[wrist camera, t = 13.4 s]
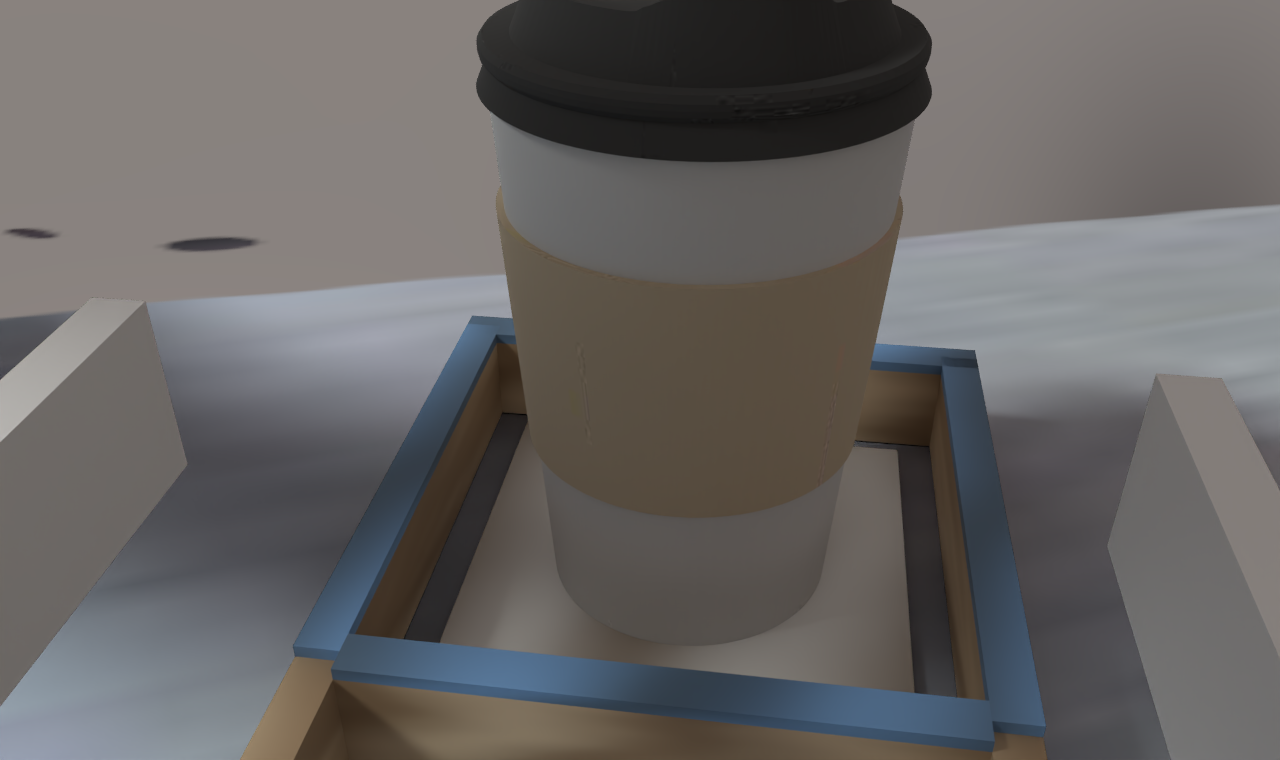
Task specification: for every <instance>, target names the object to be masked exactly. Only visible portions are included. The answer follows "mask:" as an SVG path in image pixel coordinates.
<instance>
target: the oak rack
mask: <svg viewBox="0 0 1280 760" xmlns="http://www.w3.org/2000/svg"><path fill="white" fill-rule="evenodd" d="M502 412H505V413H517V414H527V410H526V403H525V396H524V390H523V383H522V377H521V370H520V363H519V357H518V350H517V343H516V337H515V330H514V323H513V319H512V318H498V317H483V316H472V317H471V319H470V321H469V323H468V325H467V326H466V328H465V330H464V332H463V334H462V336H461V337H460V339H459V341H458V343H457V345H456V347H455V348H454V350H453V352H452V354H451V356H450V358H449V360H448V361H447V363H446V365H445V367H444V369H443V371H442V372H441V374H440V376H439V378H438V380H437V382H436V383H435V385H434V387H433V389H432V391H431V393H430V395H429V396H428V398H427V400H426V402H425V404H424V406H423V407H422V409H421V411H420V413H419V415H418V417H417V418H416V420H415V422H414V424H413V426H412V428H411V429H410V431H409V433H408V435H407V437H406V439H405V441H404V442H403V444H402V446H401V448H400V450H399V452H398V453H397V455H396V457H395V459H394V461H393V463H392V464H391V466H390V468H389V470H388V472H387V474H386V476H385V477H384V479H383V481H382V483H381V485H380V487H379V488H378V490H377V492H376V494H375V496H374V498H373V499H372V501H371V503H370V505H369V507H368V509H367V510H366V512H365V514H364V516H363V518H362V520H361V522H360V523H359V525H358V527H357V529H356V531H355V533H354V534H353V536H352V538H351V540H350V542H349V544H348V545H347V547H346V549H345V551H344V553H343V555H342V557H341V558H340V560H339V562H338V564H337V566H336V568H335V569H334V571H333V573H332V575H331V577H330V579H329V580H328V582H327V584H326V586H325V588H324V590H323V591H322V593H321V595H320V597H319V599H318V601H317V603H316V604H315V606H314V608H313V610H312V612H311V614H310V615H309V617H308V619H307V621H306V623H305V625H304V626H303V628H302V630H301V632H300V634H299V636H298V638H297V639H296V641H295V643H294V645H293V649H294V653H295V658H294V660H293V662H292V663H291V665H290V667H289V669H288V671H287V673H286V675H285V677H284V678H283V680H282V682H281V684H280V686H279V688H278V690H277V691H276V693H275V695H274V697H273V699H272V701H271V703H270V705H269V706H268V708H267V710H266V712H265V714H264V716H263V718H262V720H261V721H260V723H259V725H258V727H257V729H256V731H255V733H254V734H253V736H252V738H251V740H250V742H249V744H248V746H247V748H246V749H245V751H244V753H243V755H242V757H241V759H240V760H1047V755H1046V749H1045V744H1044V738H1043V737H1044V733H1045V729H1046V723H1045V718H1044V713H1043V707H1042V702H1041V697H1040V691H1039V686H1038V681H1037V676H1036V670H1035V665H1034V660H1033V654H1032V649H1031V644H1030V639H1029V633H1028V628H1027V623H1026V617H1025V612H1024V607H1023V602H1022V596H1021V591H1020V586H1019V581H1018V575H1017V570H1016V565H1015V559H1014V554H1013V549H1012V544H1011V538H1010V533H1009V528H1008V522H1007V517H1006V512H1005V507H1004V501H1003V496H1002V491H1001V486H1000V480H999V475H998V470H997V464H996V459H995V454H994V449H993V443H992V438H991V433H990V427H989V422H988V417H987V412H986V406H985V401H984V396H983V390H982V385H981V380H980V375H979V369H978V364H977V359H976V354H975V350H961V349H946V348H932V347H917V346H903V345H888V344H875V348H874V352H873V357H872V362H871V366H870V371H869V376H868V381H867V385H866V390H865V395H864V399H863V404H862V409H861V414H860V418H859V423H858V428H857V433H856V437H855V440H858V441H870V442H883V443H896V444H908V445H921V446H929V447H930V456H931V465H932V474H933V483H934V492H935V501H936V510H937V519H938V528H939V537H940V546H941V555H942V564H943V573H944V582H945V591H946V600H947V609H948V618H949V627H950V636H951V645H952V655H953V664H954V673H955V682H956V691H957V697H948V696H938V695H929V694H919V693H915V692H914V678H913V664H912V650H911V636H910V621H909V607H908V593H907V579H906V565H905V551H904V536H903V522H902V508H901V494H900V480H899V466H898V451H897V450H892V449H880V448H867V447H855V446H853V448H852V451H851V453H850V455H849V457H848V458H847V460H846V461H845V463H844V467H843V472H842V477H841V482H840V486H839V491H838V496H837V501H836V506H835V511H834V516H833V521H832V525H831V530H830V535H829V540H828V545H827V550H826V555H825V559H824V564H823V569H822V574H821V578H820V581H819V584H818V586H817V588H816V590H815V592H814V593H813V595H812V596H811V598H810V599H809V600H808V601H807V603H806V604H805V605H804V606H803V607H802V608H801V609H800V610H799V611H798V612H797V613H795V614H794V615H793V616H792V617H790V618H789V619H787V620H786V621H784V622H783V623H781V624H779V625H778V626H776V627H774V628H772V629H770V630H768V631H765V632H763V633H761V634H758V635H755V636H752V637H749V638H746V639H742V640H738V641H734V642H729V643H722V644H715V645H701V646H683V645H670V644H663V643H656V642H651V641H647V640H643V639H639V638H636V637H632V636H629V635H626V634H624V633H621V632H619V631H616V630H614V629H612V628H610V627H608V626H606V625H604V624H602V623H601V622H599V621H597V620H596V619H594V618H593V617H591V616H590V615H589V614H587V613H586V612H585V611H584V610H583V609H581V608H580V607H579V606H578V605H577V604H576V603H575V602H574V600H573V599H572V598H571V597H570V595H569V594H568V593H567V591H566V590H565V588H564V586H563V584H562V582H561V580H560V577H559V574H558V571H557V565H556V559H555V552H554V545H553V538H552V531H551V524H550V517H549V511H548V504H547V497H546V490H545V483H544V476H543V470H542V463H541V458H540V457H539V455H538V453H537V452H536V450H535V448H534V445H533V443H532V440H531V436H530V430H529V423H528V421H527V424H526V426H525V429H524V431H523V434H522V436H521V439H520V441H519V444H518V446H517V449H516V451H515V454H514V456H513V459H512V461H511V464H510V467H509V469H508V472H507V474H506V477H505V479H504V482H503V484H502V487H501V489H500V492H499V494H498V497H497V499H496V502H495V504H494V507H493V509H492V512H491V514H490V517H489V519H488V522H487V524H486V527H485V529H484V532H483V534H482V537H481V539H480V542H479V544H478V547H477V549H476V552H475V554H474V557H473V559H472V562H471V564H470V567H469V569H468V572H467V574H466V577H465V579H464V582H463V584H462V587H461V589H460V592H459V594H458V597H457V599H456V602H455V604H454V607H453V609H452V612H451V614H450V617H449V619H448V622H447V624H446V627H445V629H444V632H443V634H442V637H441V639H440V642H439V643H433V642H424V641H414V640H405V639H404V636H405V634H406V632H407V630H408V627H409V625H410V623H411V620H412V618H413V616H414V614H415V611H416V609H417V607H418V604H419V602H420V600H421V598H422V595H423V593H424V591H425V588H426V586H427V584H428V582H429V579H430V577H431V575H432V572H433V570H434V568H435V565H436V563H437V561H438V559H439V556H440V554H441V552H442V549H443V547H444V545H445V543H446V540H447V538H448V536H449V533H450V531H451V529H452V527H453V524H454V522H455V520H456V517H457V515H458V513H459V510H460V508H461V506H462V504H463V501H464V499H465V497H466V494H467V492H468V490H469V488H470V485H471V483H472V481H473V478H474V476H475V474H476V472H477V469H478V467H479V465H480V462H481V460H482V458H483V456H484V453H485V451H486V449H487V446H488V444H489V442H490V439H491V437H492V435H493V433H494V430H495V428H496V426H497V423H498V421H499V419H500V417H501V414H502Z"/></svg>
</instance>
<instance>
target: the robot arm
mask: <svg viewBox="0 0 1280 760" xmlns="http://www.w3.org/2000/svg"><path fill="white" fill-rule="evenodd" d="M187 465H188V464H187V460H186V456H185V452H184V448H183V444H182V441H181V437H180V433H179V429H178V425H177V421H176V417H175V414H174V410H173V406H172V402H171V398H170V394H169V391H168V387H167V383H166V379H165V375H164V371H163V367H162V364H161V360H160V356H159V352H158V348H157V344H156V341H155V337H154V333H153V329H152V325H151V321H150V317H149V314H148V310H147V306H146V302H145V301H137V300H136V301H135V300H122V299H109V298H94V297H92V298H91V299H90V300H89V301H88V302H86V303H85V304H84V305H83V306H82V307H81V308H80V309H79V310H78V311H76V312H75V313H74V314H73V315H72V316H71V317H70V318H69V319H68V320H66V321H65V322H64V323H63V324H62V325H61V326H60V327H59V328H58V329H56V330H55V331H54V332H53V333H52V334H51V335H50V336H49V337H47V338H46V339H45V340H44V341H43V342H42V343H41V344H40V345H39V346H37V347H36V348H35V349H34V350H33V351H32V352H31V353H30V354H29V355H27V356H26V357H25V358H24V359H23V360H22V361H21V362H20V363H19V364H17V365H16V366H15V367H14V368H13V369H12V370H11V371H10V372H9V373H7V374H6V375H5V376H4V377H3V378H2V379H1V380H0V706H1V705H2V704H3V702H4V701H5V700H6V699H7V697H8V696H9V695H10V693H11V692H12V691H13V689H14V688H15V687H16V686H17V684H18V683H19V682H20V680H21V679H22V678H23V677H24V675H25V674H26V673H27V671H28V670H29V669H30V668H31V666H32V665H33V664H34V662H35V661H36V660H37V659H38V657H39V656H40V655H41V653H42V652H43V651H44V649H45V648H46V647H47V646H48V644H49V643H50V642H51V640H52V639H53V638H54V637H55V635H56V634H57V633H58V631H59V630H60V629H61V628H62V626H63V625H64V624H65V622H66V621H67V620H68V619H69V617H70V616H71V615H72V613H73V612H74V611H75V610H76V608H77V607H78V606H79V604H80V603H81V602H82V600H83V599H84V598H85V597H86V595H87V594H88V593H89V591H90V590H91V589H92V588H93V586H94V585H95V584H96V582H97V581H98V580H99V579H100V577H101V576H102V575H103V573H104V572H105V571H106V570H107V568H108V567H109V566H110V564H111V563H112V562H113V560H114V559H115V558H116V557H117V555H118V554H119V553H120V551H121V550H122V549H123V548H124V546H125V545H126V544H127V542H128V541H129V540H130V539H131V537H132V536H133V535H134V533H135V532H136V531H137V530H138V528H139V527H140V526H141V524H142V523H143V522H144V520H145V519H146V518H147V517H148V515H149V514H150V513H151V511H152V510H153V509H154V508H155V506H156V505H157V504H158V502H159V501H160V500H161V499H162V497H163V496H164V495H165V493H166V492H167V491H168V490H169V488H170V487H171V486H172V484H173V483H174V482H175V480H176V479H177V478H178V477H179V475H180V474H181V473H182V471H183V470H184V469H185V468H186V466H187ZM1107 548H1108V551H1109V554H1110V558H1111V561H1112V565H1113V568H1114V571H1115V575H1116V578H1117V581H1118V585H1119V588H1120V591H1121V595H1122V598H1123V601H1124V605H1125V608H1126V611H1127V615H1128V618H1129V621H1130V625H1131V628H1132V631H1133V635H1134V638H1135V641H1136V645H1137V648H1138V651H1139V655H1140V658H1141V661H1142V665H1143V668H1144V671H1145V675H1146V678H1147V681H1148V685H1149V688H1150V691H1151V695H1152V698H1153V702H1154V705H1155V708H1156V712H1157V715H1158V718H1159V722H1160V725H1161V728H1162V732H1163V735H1164V738H1165V742H1166V745H1167V748H1168V752H1169V755H1170V758H1171V760H1280V490H1279V488H1278V486H1277V484H1276V482H1275V480H1274V478H1273V476H1272V474H1271V472H1270V470H1269V468H1268V466H1267V465H1266V463H1265V461H1264V459H1263V457H1262V455H1261V453H1260V451H1259V449H1258V447H1257V445H1256V443H1255V441H1254V440H1253V438H1252V436H1251V434H1250V432H1249V430H1248V428H1247V426H1246V424H1245V422H1244V420H1243V418H1242V416H1241V415H1240V413H1239V411H1238V409H1237V407H1236V405H1235V403H1234V401H1233V399H1232V397H1231V395H1230V393H1229V391H1228V390H1227V388H1226V386H1225V384H1224V382H1223V380H1222V378H1208V377H1194V376H1180V375H1166V374H1156V376H1155V379H1154V383H1153V386H1152V390H1151V393H1150V397H1149V400H1148V404H1147V407H1146V411H1145V414H1144V418H1143V422H1142V425H1141V429H1140V432H1139V436H1138V439H1137V443H1136V446H1135V450H1134V453H1133V457H1132V460H1131V464H1130V467H1129V471H1128V474H1127V478H1126V481H1125V485H1124V488H1123V492H1122V495H1121V499H1120V502H1119V506H1118V509H1117V513H1116V516H1115V520H1114V524H1113V527H1112V531H1111V534H1110V538H1109V541H1108V545H1107Z"/></svg>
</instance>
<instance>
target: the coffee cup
mask: <svg viewBox="0 0 1280 760" xmlns="http://www.w3.org/2000/svg"><path fill="white" fill-rule="evenodd" d="M931 46H932V40H931V37H930V35H929V33H928V31H927V30H926V28H925V27H924V25H923V24H922V23H921V22H920V20H919V19H917V18H916V17H915V16H914V15H912V14H911V13H909V12H908V11H906V10H904V9H902V8H900V7H898V6H896V5H894V4H892V0H519V1H517V2H514V3H512V4H510V5H508V6H506V7H504V8H502V9H500V10H499V11H497V12H496V13H494V14H493V15H492V16H491V17H489V19H487V21H486V22H485V23H484V25H483V26H482V28H481V29H480V31H479V33H478V35H477V51H478V54H479V57H480V60H481V63H482V64H483V65H482V67H481V70H480V73H479V76H478V78H477V83H476V89H477V93H478V96H479V98H480V100H481V102H482V103H483V104H484V105H485V107H486V108H487V109H488V110H489V111H490V114H491V121H492V127H493V134H494V141H495V148H496V154H497V162H498V168H499V175H500V182H501V186H500V188H499V190H498V193H497V196H496V210H497V217H498V224H499V231H500V236H501V243H502V250H503V257H504V264H505V270H506V277H507V284H508V290H509V297H510V304H511V310H512V317H513V323H514V330H515V337H516V343H517V350H518V357H519V363H520V370H521V377H522V383H523V390H524V396H525V403H526V410H527V416H528V423H529V430H530V436H531V440H532V443H533V445H534V448H535V450H536V452H537V453H538V455H539V457H540V458H541V463H542V470H543V476H544V483H545V490H546V497H547V504H548V511H549V517H550V524H551V531H552V538H553V545H554V552H555V559H556V565H557V571H558V574H559V577H560V580H561V582H562V584H563V586H564V588H565V590H566V591H567V593H568V594H569V595H570V597H571V598H572V599H573V600H574V602H575V603H576V604H577V605H578V606H579V607H580V608H581V609H583V610H584V611H585V612H586V613H587V614H589V615H590V616H591V617H593V618H594V619H596V620H597V621H599V622H601V623H602V624H604V625H606V626H608V627H610V628H612V629H614V630H616V631H619V632H621V633H624V634H626V635H629V636H632V637H636V638H639V639H643V640H647V641H651V642H656V643H663V644H670V645H683V646H701V645H715V644H722V643H729V642H734V641H738V640H742V639H746V638H749V637H752V636H755V635H758V634H761V633H763V632H765V631H768V630H770V629H772V628H774V627H776V626H778V625H779V624H781V623H783V622H784V621H786V620H787V619H789V618H790V617H792V616H793V615H794V614H795V613H797V612H798V611H799V610H800V609H801V608H802V607H803V606H804V605H805V604H806V603H807V601H808V600H809V599H810V598H811V596H812V595H813V593H814V592H815V590H816V588H817V586H818V584H819V581H820V578H821V574H822V569H823V564H824V559H825V555H826V550H827V545H828V540H829V535H830V530H831V525H832V521H833V516H834V511H835V506H836V501H837V496H838V491H839V486H840V482H841V477H842V472H843V467H844V463H845V461H846V460H847V458H848V457H849V455H850V453H851V451H852V448H853V445H854V442H855V437H856V433H857V428H858V423H859V418H860V414H861V409H862V404H863V399H864V395H865V390H866V385H867V381H868V376H869V371H870V366H871V362H872V357H873V352H874V348H875V343H876V338H877V333H878V329H879V324H880V319H881V315H882V310H883V305H884V300H885V296H886V291H887V286H888V282H889V277H890V272H891V267H892V263H893V258H894V253H895V248H896V244H897V239H898V234H899V230H900V225H901V220H902V215H903V205H902V201H901V197H900V190H901V185H902V180H903V175H904V170H905V165H906V161H907V156H908V151H909V146H910V141H911V136H912V131H913V126H914V121H915V119H916V118H917V117H918V116H919V115H920V114H921V113H922V112H923V111H924V110H925V109H926V107H927V106H928V104H929V102H930V99H931V95H932V89H931V85H930V81H929V78H928V75H927V72H926V69H925V67H926V65H927V63H928V61H929V58H930V54H931V48H932V47H931Z"/></svg>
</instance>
